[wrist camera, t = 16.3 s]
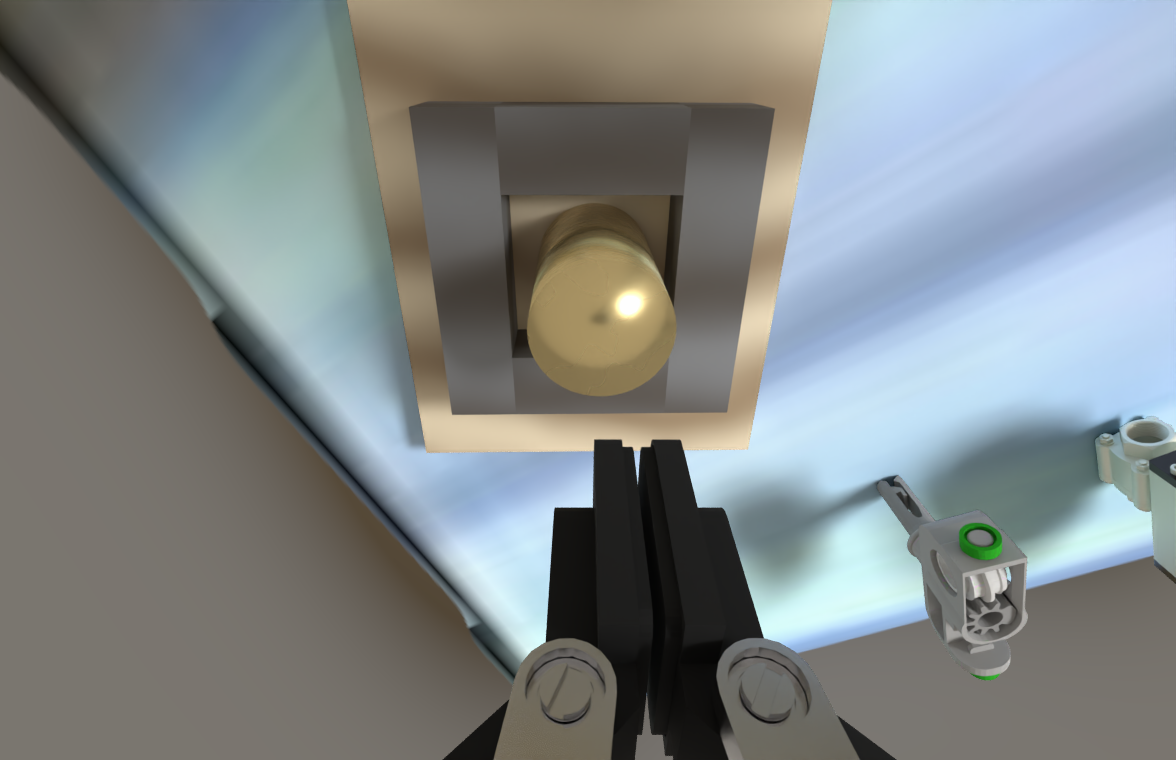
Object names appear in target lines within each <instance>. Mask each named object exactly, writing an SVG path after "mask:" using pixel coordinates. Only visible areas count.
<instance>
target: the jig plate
mask: <svg viewBox="0 0 1176 760" xmlns="http://www.w3.org/2000/svg"><path fill="white" fill-rule="evenodd" d="M347 4H348V10H349V15H350V21H351V27H352V32H353V38H354V44H355V49H356V55H357V61H358V66H359V72H360V78H361V84H362V89H363V95H364V101H365V106H366V112H367V118H368V123H369V129H370V135H371V140H372V146H373V152H374V157H375V163H376V169H377V174H378V180H379V186H380V191H381V197H382V203H383V209H384V214H385V220H386V226H387V231H388V237H389V243H390V248H391V254H392V260H393V265H394V271H395V277H396V282H397V288H398V294H399V299H400V305H401V311H402V316H403V322H404V328H405V334H406V339H407V345H408V351H409V356H410V362H411V368H412V373H413V379H414V385H415V390H416V396H417V402H418V407H419V413H420V419H421V424H422V430H423V436H424V441H425V447H426V453H447V452H546V451H594V439H622V444H623V447H633V451H640V450H641V447H651V441H652V439H680V440H681V442H682V446H683V450H743V449H748V446H749V441H750V435H751V430H752V425H753V419H754V414H755V409H756V403H757V398H758V393H759V387H760V382H761V377H762V371H763V366H764V361H765V355H766V350H767V345H768V339H769V334H770V329H771V323H772V318H773V313H774V307H775V302H776V297H777V292H778V286H779V281H780V276H781V270H782V265H783V260H784V254H785V249H786V244H787V238H788V233H789V228H790V222H791V217H792V212H793V206H794V201H795V196H796V190H797V185H798V180H799V174H800V169H801V164H802V158H803V153H804V148H805V143H806V137H807V132H808V127H809V121H810V116H811V111H812V105H813V100H814V95H815V89H816V84H817V79H818V73H819V68H820V63H821V57H822V52H823V47H824V41H825V36H826V31H827V25H828V20H829V15H830V9H831V4H832V0H347ZM586 203H603V204H608V205H612V206H614V207H617V208H619V209H621V210H622V211H624V212H626V213H627V214H628V215H630V216H631V217H632V218H633V219H634V220H635V221H636V222H637V224H638V225H639V227H640V228H641V230H642V232H643V234H644V236H645V239H646V241H647V243H648V246H649V248H650V251H651V253H652V256H653V258H654V261H655V263H656V265H657V268H658V270H659V273H660V275H661V278H662V280H663V283H664V285H665V288H666V290H667V292H668V295H669V297H670V300H671V302H672V305H673V308H674V311H675V316H676V326H677V328H676V338H675V342H674V346H673V349H672V351H671V354H670V356H669V357H668V359H667V361H666V362H665V364H664V365H663V367H662V368H661V369H660V370H659V371H658V372H657V373H656V375H654V376H653V377H652V378H651V379H650V380H648V381H647V382H645V383H644V384H642V385H641V386H639V387H637V388H635V389H633V390H630V391H628V392H625V393H621V394H617V395H612V396H588V395H583V394H579V393H575V392H572V391H570V390H568V389H565V388H563V387H562V386H560V385H558V384H557V383H555V382H554V381H553V380H551V379H550V378H549V377H548V376H547V375H546V374H545V373H544V372H543V371H542V370H541V368H540V367H539V366H538V364H537V363H536V361H535V359H534V357H533V355H532V353H531V350H530V347H529V343H528V336H527V324H528V316H529V310H530V305H531V299H532V293H533V287H534V281H535V275H536V269H537V263H538V257H539V252H540V246H541V242H542V239H543V236H544V234H545V232H546V230H547V229H548V227H549V226H550V224H551V223H552V222H553V221H554V220H555V219H556V218H557V217H558V216H559V215H560V214H562V213H563V212H565V211H566V210H568V209H570V208H572V207H575V206H578V205H581V204H586Z"/></svg>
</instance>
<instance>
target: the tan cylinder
mask: <svg viewBox="0 0 1176 760" xmlns="http://www.w3.org/2000/svg"><path fill="white" fill-rule="evenodd" d="M676 328H677V326H676V316H675V311H674V308H673V305H672V302H671V300H670V297H669V295H668V292H667V290H666V288H665V285H664V283H663V280H662V278H661V275H660V273H659V270H658V268H657V265H656V263H655V261H654V258H653V256H652V253H651V251H650V248H649V246H648V243H647V241H646V239H645V236H644V234H643V232H642V230H641V228H640V227H639V225H638V224H637V222H636V221H635V220H634V219H633V218H632V217H631V216H630V215H628V214H627V213H626V212H624V211H622V210H621V209H619V208H617V207H614V206H612V205H608V204H603V203H586V204H581V205H578V206H575V207H572V208H570V209H568V210H566V211H565V212H563V213H562V214H560V215H559V216H558V217H557V218H556V219H555V220H554V221H553V222H552V223H551V224H550V226H549V227H548V229H547V230H546V232H545V234H544V236H543V239H542V242H541V246H540V252H539V257H538V263H537V269H536V275H535V281H534V287H533V293H532V299H531V305H530V310H529V316H528V324H527V336H528V343H529V347H530V350H531V353H532V355H533V357H534V359H535V361H536V363H537V364H538V366H539V367H540V368H541V370H542V371H543V372H544V373H545V374H546V375H547V376H548V377H549V378H550V379H551V380H553V381H554V382H555V383H557V384H558V385H560V386H562V387H563V388H565V389H568V390H570V391H572V392H575V393H579V394H583V395H588V396H612V395H617V394H621V393H625V392H628V391H630V390H633V389H635V388H637V387H639V386H641V385H642V384H644V383H645V382H647V381H648V380H650V379H651V378H652V377H653V376H654V375H656V373H657V372H658V371H659V370H660V369H661V368H662V367H663V365H664V364H665V362H666V361H667V359H668V357H669V356H670V354H671V351H672V349H673V346H674V342H675V338H676Z"/></svg>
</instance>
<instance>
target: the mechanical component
mask: <svg viewBox="0 0 1176 760" xmlns="http://www.w3.org/2000/svg"><path fill="white" fill-rule="evenodd" d="M877 489H878V491H879V493H880V494H881V495H882V497H883V498H884V500H885V501H886V502H887V504H888V505H889V507H890V508H891V510H892V511H893V512H894V514H895V515H896V517H897V518H898V519H899V521H900V522H901V524H902V525H903V526H904V528H905V529H906V531H907V532H908V534H909V535H910V537H909V539H908V542H907V547H908V550H909V552H910V553H911V554H912V555H913V556H915V557H917V559H918V560H919V562H920V563H921V565H922V574H923V585H924V596H925V606H926V610H927V613H928V616H929V619H930V621H931V623H932V625H933V627H934V629H935V631H936V633H937V635H938V636H939V638H940V640H941V641H942V643H943V644H944V646H945V647H946V649H947V651H948V652H949V654H950V655H951V657H952V659H953V660H954V661H955V663H956V664H957V665H958V666H960V667H961V668H962V669H964V670H965V671H967V672H969V673H970V674H972V675H973V676H975V677H976V678H979V679H982V680H993V679H995V678H997V677H998V676H999V674H1000V673H1002V672H1004V671H1005V670H1006V669H1007V668H1008V666H1009V664H1010V648H1009V645H1008V643H1007V642H1006V640H1005V639H1007V638H1009V637H1011V636H1013V635H1015V634H1016V633H1017V632H1019V631H1020V630H1021V629H1022V628H1023V626H1024V625H1025V624H1026V622H1027V618H1028V615H1027V612H1026V611H1025V592H1026V571H1027V557H1026V556H1025V554H1024V553H1023V552H1022V551H1021V550H1020V549H1019V548H1018V547H1017V546H1016V545H1015V543H1014V542H1013V541H1012V540H1011V539H1010V538H1009V537H1008V536H1007V535H1006V534H1005V533H1004V531H1003V530H1000V529H999V528H998V527H997V526H996V525H995V524H994V523H993V522H992V520H991V519H990V518H989V517H988V516H987V515H986V514H985V513H983V512H982V511H979V510H976V511H972V512H968V513H965V514H961V515H957V516H953V517H949V518H946V519H942V520H938V521H935V520H934V519H933V518H932V516H931V515H930V514H929V513H928V511H927V510H926V509H925V507H924V506H923V505H922V504H921V502H920V501H919V500H918V498H917V497H916V496H915V495H914V493H913V492H912V491H911V490H910V488H909V487H908V486H907V484H906V483H905V482H904V481H903V479H902V478H901V477H900V476H897V477H896V478H895V479H894V487H890V485H889V484H888V483H887V481H879V483H878V485H877ZM908 509H909V510H910V511H911V512H910V511H909V510H908ZM1005 567H1009V569H1010V573H1011V582H1010V581H1009V580H1007V573H1006V570H1005Z"/></svg>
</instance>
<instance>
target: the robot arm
mask: <svg viewBox="0 0 1176 760" xmlns="http://www.w3.org/2000/svg"><path fill="white" fill-rule="evenodd" d="M646 694H647V698H648V709H649V719H650V728H651V733H652V735H663V741H664V749H665V755H666V756H673V760H896V759H895V758H893V757H892V756H891V755H889V754H888V753H887V752H885V751H884V750H883V749H881V748H880V747H878V746H877V745H876V744H875V743H873V742H872V741H871V740H869V739H868V738H867V737H865V736H864V735H863V734H861V733H860V732H859V731H857V730H856V729H855V728H853V727H852V726H851V725H849V724H848V723H847V722H845V721H844V720H842V719H841V718H840V717H838V716H837V715H836V713H835V711H834V709H833V707H832V705H831V703H830V701H829V699H828V697H827V695H826V694H825V692H824V690H823V688H822V686H821V684H820V682H819V680H818V678H817V677H816V675H815V674H814V672H813V671H812V669H811V668H810V666H809V665H808V663H807V662H805V661H804V660H803V659H802V658H801V657H800V656H799V655H798V654H797V653H796V652H794V651H793V650H791V649H789V648H788V647H786V646H784V645H782V644H781V643H779V642H775V641H771V640H768V639H764V637H763V634H762V631H761V627H760V624H759V621H758V617H757V614H756V611H755V608H754V604H753V601H752V598H751V594H750V591H749V588H748V584H747V581H746V578H745V574H744V571H743V568H742V564H741V561H740V558H739V554H738V551H737V548H736V544H735V541H734V538H733V535H732V531H731V528H730V525H729V521H728V518H727V515H726V513H725V511H724V509H723V508H698V507H697V503H696V499H695V495H694V491H693V487H692V483H691V479H690V475H689V471H688V466H687V462H686V458H685V454H684V450H683V446H682V442H681V440H680V439H652V441H651V447H641V450H640V464H639V478H638V484H637V476H636V467H635V459H634V451H633V447H623V444H622V439H594V474H593V508H555V510H554V521H553V537H552V552H551V568H550V583H549V599H548V615H547V630H546V643H544V644H542V645H540V646H539V647H537V648H536V649H534V650H533V651H531V653H530V654H529V655H528V656H527V657H526V658H525V660H524V661H523V662H522V663H521V665H520V667H519V670H518V672H517V674H516V677H515V680H514V683H513V687H512V691H511V695H510V699H509V700H508V701H507V702H506V703H505V704H503V705H502V706H501V707H500V708H499V709H498V710H497V711H496V712H495V713H494V714H492V716H490V717H489V718H488V719H487V720H486V721H485V722H484V723H483V724H482V725H480V726H479V727H478V728H477V729H476V730H475V731H474V732H473V733H472V734H471V735H470V736H468V737H467V738H466V739H465V740H464V741H463V742H462V743H461V744H459V745H458V746H457V747H456V748H455V749H454V750H453V751H452V752H451V753H450V754H449V755H447V756H446V757H445V758H444V759H443V760H635V752H636V751H635V750H636V742H637V735H642V730H643V720H644V712H645V702H646Z"/></svg>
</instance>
